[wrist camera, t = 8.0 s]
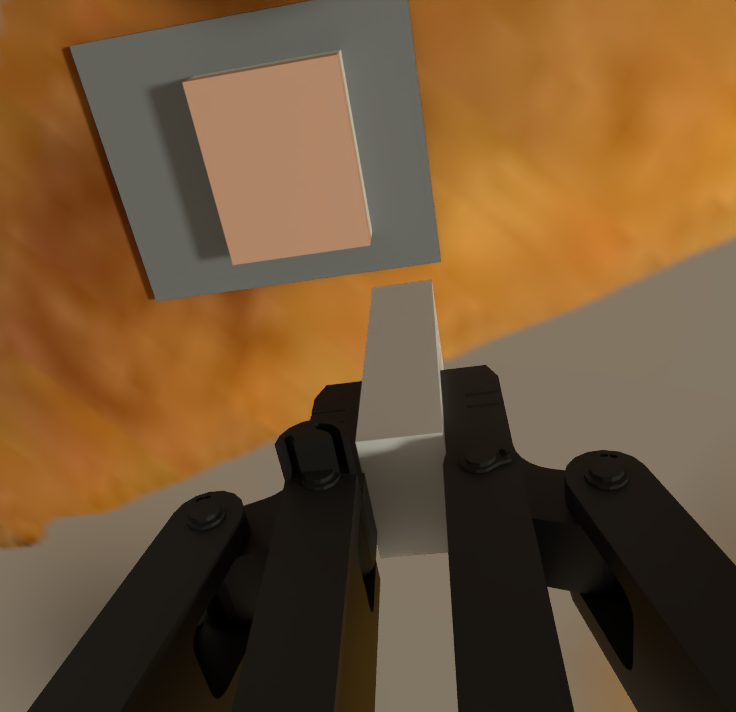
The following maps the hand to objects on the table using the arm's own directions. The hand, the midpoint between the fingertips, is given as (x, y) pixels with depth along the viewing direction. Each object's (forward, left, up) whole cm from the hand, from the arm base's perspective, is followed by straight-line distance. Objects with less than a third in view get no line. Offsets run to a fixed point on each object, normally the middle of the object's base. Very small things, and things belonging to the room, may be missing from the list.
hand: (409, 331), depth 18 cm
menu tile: (0, -3, -23) cm, 23 cm away
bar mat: (0, -8, -24) cm, 26 cm away
